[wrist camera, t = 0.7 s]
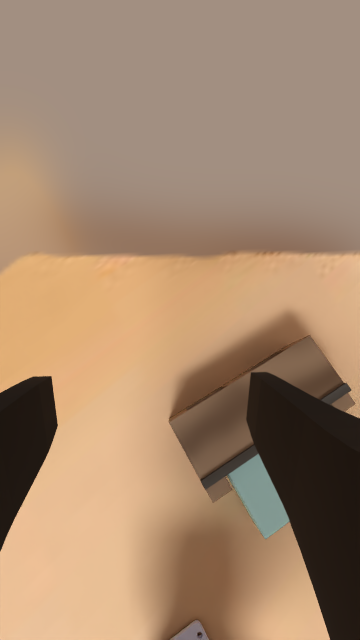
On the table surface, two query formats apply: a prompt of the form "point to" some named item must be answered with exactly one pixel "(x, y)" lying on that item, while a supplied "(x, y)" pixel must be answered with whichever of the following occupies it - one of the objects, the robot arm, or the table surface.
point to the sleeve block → (231, 410)
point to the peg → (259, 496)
